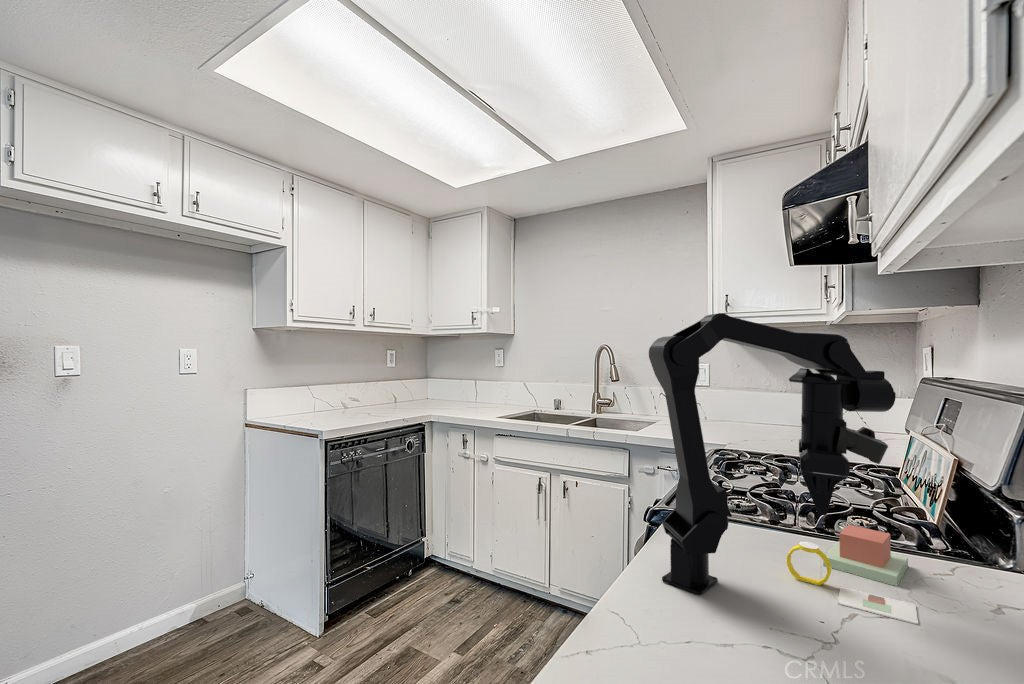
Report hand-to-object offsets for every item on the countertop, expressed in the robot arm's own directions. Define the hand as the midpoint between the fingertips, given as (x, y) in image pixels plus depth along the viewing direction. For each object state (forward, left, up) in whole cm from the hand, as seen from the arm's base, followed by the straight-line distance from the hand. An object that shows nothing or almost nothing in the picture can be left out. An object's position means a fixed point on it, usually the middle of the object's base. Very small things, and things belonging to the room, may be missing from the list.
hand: (820, 506), depth 79 cm
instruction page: (-4, -8, -11) cm, 15 cm away
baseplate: (+10, -4, -11) cm, 16 cm away
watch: (-3, +1, -12) cm, 12 cm away
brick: (+10, -4, -10) cm, 15 cm away
